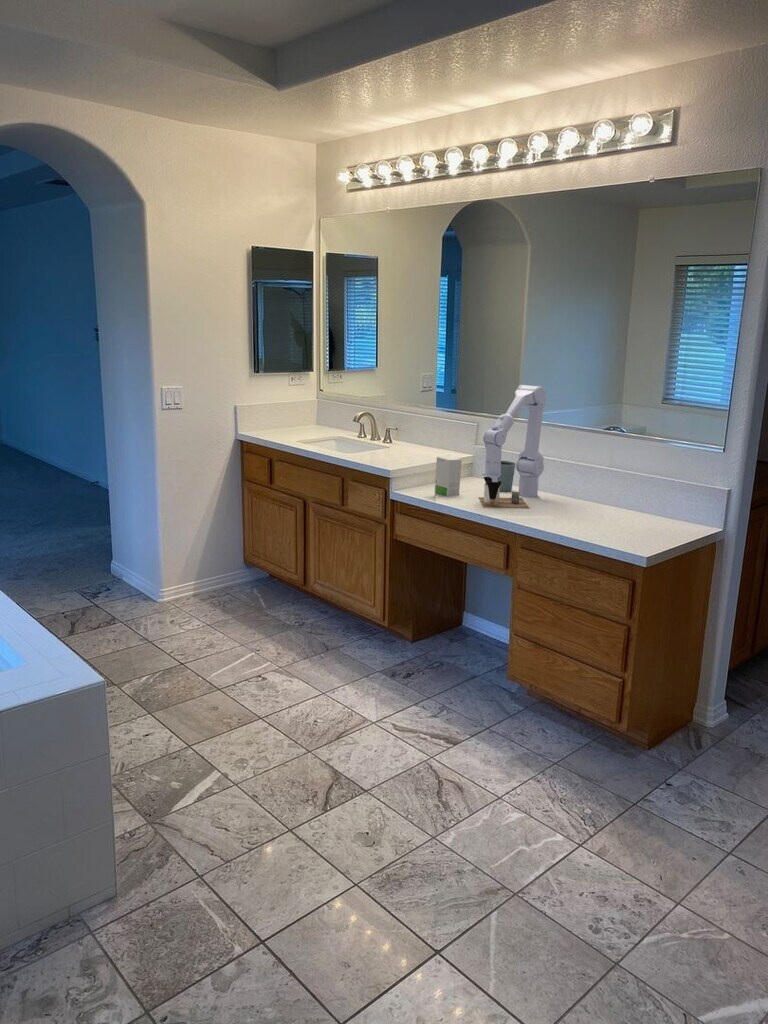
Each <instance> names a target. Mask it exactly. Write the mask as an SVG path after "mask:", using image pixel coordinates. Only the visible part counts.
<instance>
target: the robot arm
mask: <svg viewBox="0 0 768 1024" xmlns="http://www.w3.org/2000/svg"><path fill="white" fill-rule="evenodd" d="M546 397H547V391H546V390H545V389H544V387H543V386H542V385H527V384H519V386H518V387H517V389H516V390H515V391H514V399H513V401H512V402H511V404H510V406H509V408H508V409H507V411H506V412H505V413H501V415H499V417H498V418H497V420H496V421H495V423H494V424H493V426H492V427H491V428H490V429H488V430H486V431H485V432H484V435H483V437H482V438H483V439H482V440H483V443H484V449H485V463H484V464H485V469H484V472H482V473H481V475H482V476H483V479H484V481H485V483H487V485H488V489H489V498H490V499H496V496H497V492H498V489H499V486H500V485H501V483H502V482H501V481H498V479H499V477H500V476H501V473H500V472H501V461H502V451H503V449H502V448H503V447H502V446H503V445H504V444H505V443H506V439H507V435H508V432H509V431H510V430H511V428H512V426H513V425H514V424H515V423H514V422H515V421H514V419H515V418H516V417H517V415H518V414H519V412H520V411H521V410H522V409H523V407H525V406H526V408H527V409H528V410H529V412H528V418H527V427H526V433H525V434H526V435H525V443H524V449H523V450H522V451H521V452H520V453H518V457H517V461H516V462H515V464H516V465H515V470H516V471H517V472H518V475H519V480H518V492H519V497H520V496H521V497H525V498H526V497H527V498H534V497H535V498H536V497H538V498H540V496H539V491H538V490H539V479H540V477H541V475H542V473H543V472H544V468H545V463H544V458H545V457H544V456H543V455H542V454H541V452H539V448H540V441H541V432H542V425H543V418H544V417H543V416H544V411H545V410H544V408H545V404H546Z"/></svg>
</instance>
